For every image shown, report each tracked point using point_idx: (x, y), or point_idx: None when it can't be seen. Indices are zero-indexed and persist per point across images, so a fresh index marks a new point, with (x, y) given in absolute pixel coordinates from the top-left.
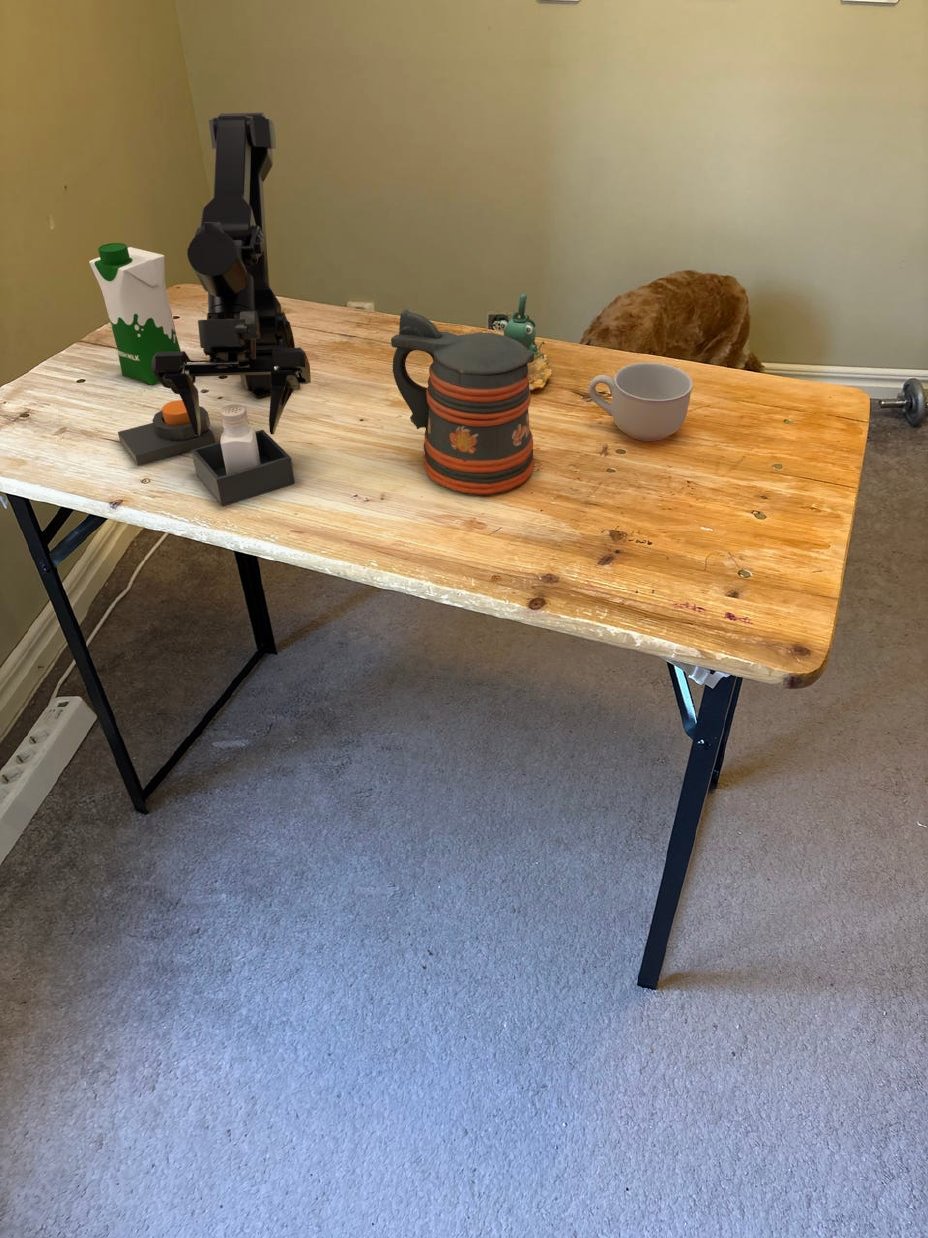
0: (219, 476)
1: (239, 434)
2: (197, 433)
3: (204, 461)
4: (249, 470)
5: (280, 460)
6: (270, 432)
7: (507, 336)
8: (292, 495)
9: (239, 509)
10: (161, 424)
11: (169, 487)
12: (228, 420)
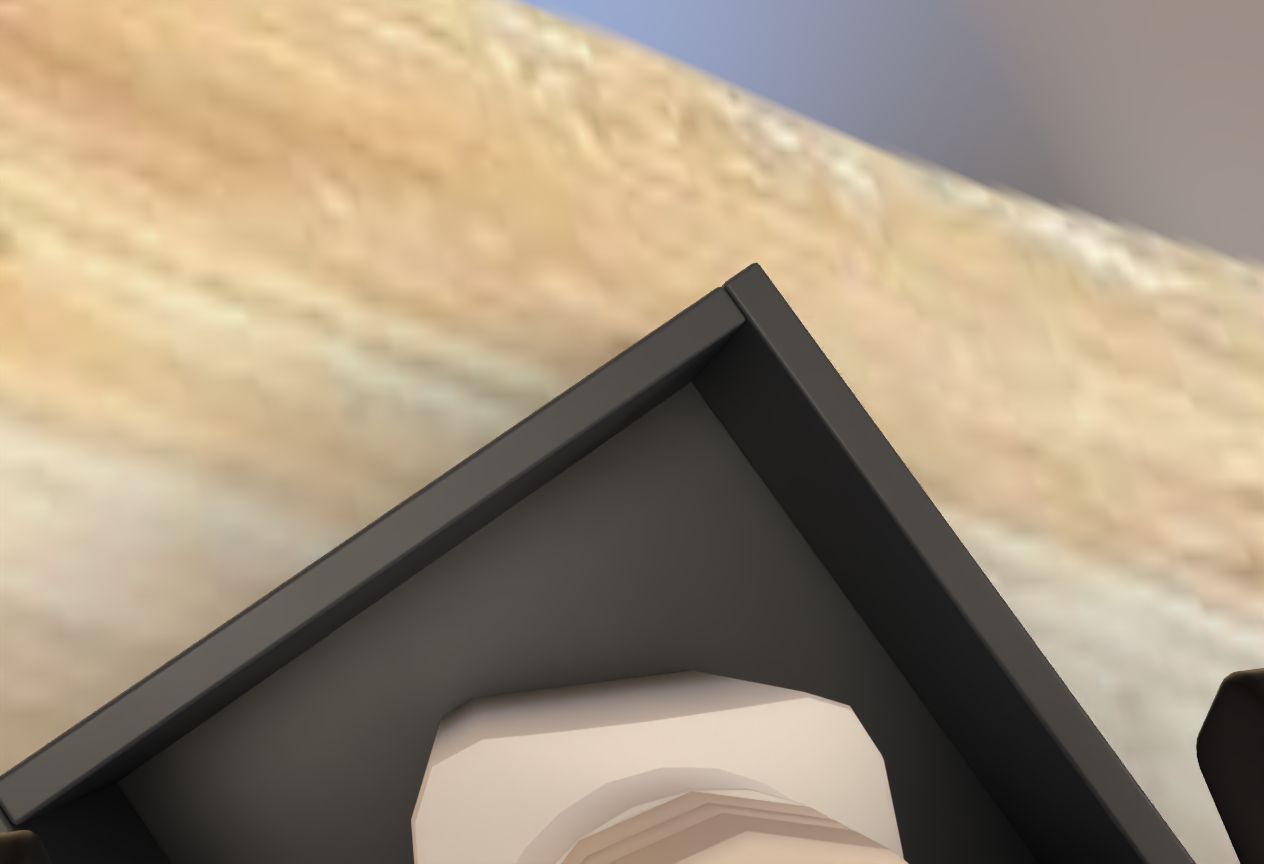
0: None
1: (602, 810)
2: (1244, 675)
3: (1004, 653)
4: (435, 481)
5: (76, 725)
6: (27, 830)
7: None
8: (74, 562)
9: (534, 316)
10: None
11: (1234, 658)
12: (801, 820)
